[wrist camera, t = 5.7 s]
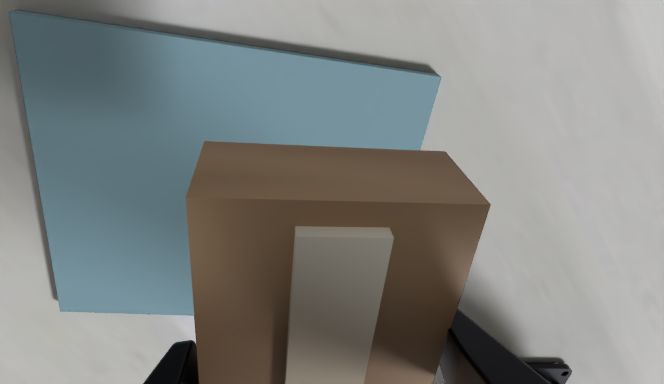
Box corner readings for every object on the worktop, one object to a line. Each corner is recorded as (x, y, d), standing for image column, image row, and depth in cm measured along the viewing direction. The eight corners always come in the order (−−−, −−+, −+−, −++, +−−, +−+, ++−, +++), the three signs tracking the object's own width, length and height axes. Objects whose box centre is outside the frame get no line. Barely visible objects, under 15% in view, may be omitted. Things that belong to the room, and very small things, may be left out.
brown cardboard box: (385, 392, 13) (407, 480, 11) (216, 400, 12) (204, 496, 10) (445, 151, 9) (498, 214, 7) (204, 141, 8) (182, 207, 6)
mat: (437, 73, 18) (441, 77, 18) (367, 314, 25) (369, 321, 25) (16, 9, 15) (8, 11, 15) (64, 304, 22) (60, 311, 21)
